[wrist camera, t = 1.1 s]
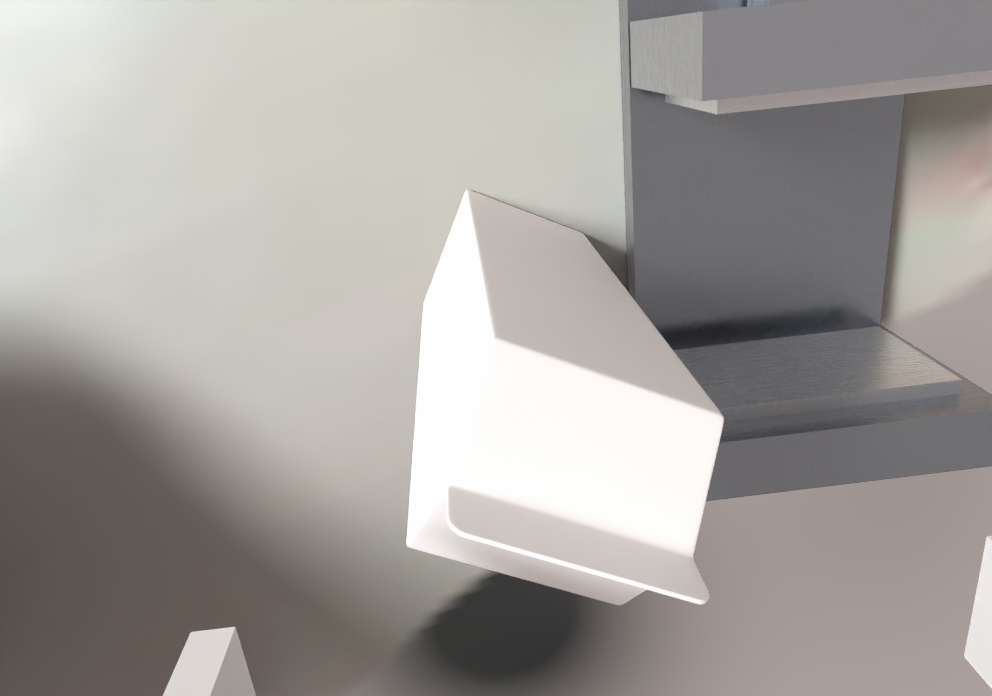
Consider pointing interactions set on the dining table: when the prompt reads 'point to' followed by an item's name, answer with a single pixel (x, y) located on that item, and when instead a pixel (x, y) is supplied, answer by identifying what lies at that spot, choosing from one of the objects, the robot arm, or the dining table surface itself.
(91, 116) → the dining table surface
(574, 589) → the milk
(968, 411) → the vise base
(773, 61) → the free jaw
